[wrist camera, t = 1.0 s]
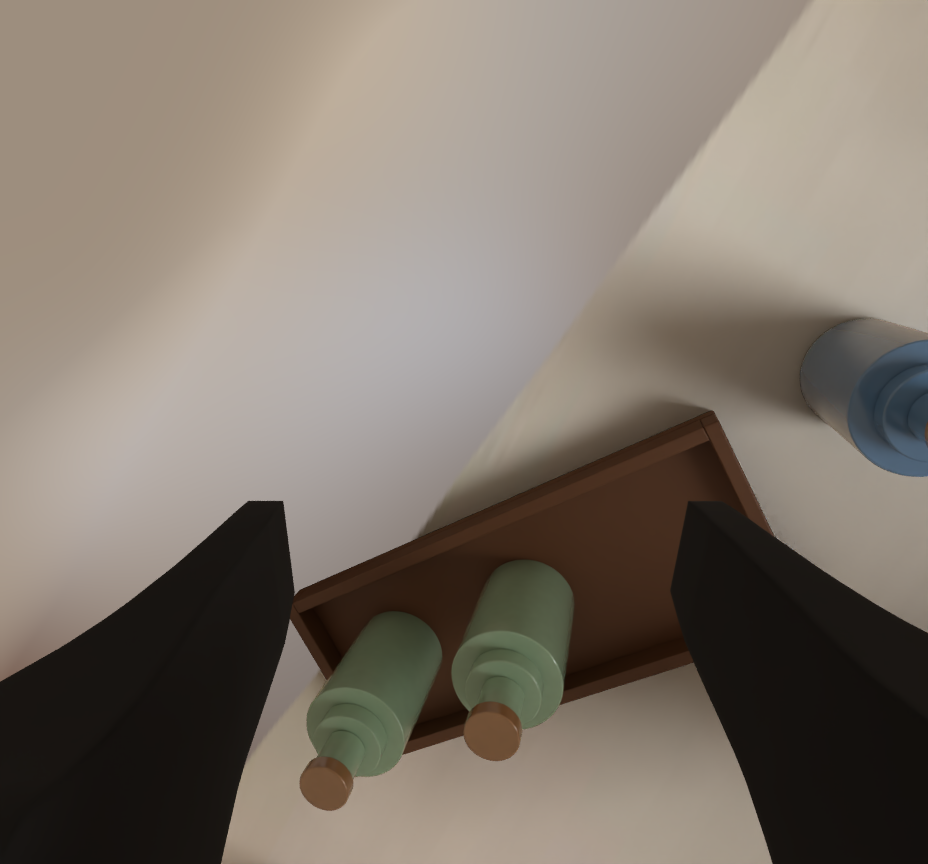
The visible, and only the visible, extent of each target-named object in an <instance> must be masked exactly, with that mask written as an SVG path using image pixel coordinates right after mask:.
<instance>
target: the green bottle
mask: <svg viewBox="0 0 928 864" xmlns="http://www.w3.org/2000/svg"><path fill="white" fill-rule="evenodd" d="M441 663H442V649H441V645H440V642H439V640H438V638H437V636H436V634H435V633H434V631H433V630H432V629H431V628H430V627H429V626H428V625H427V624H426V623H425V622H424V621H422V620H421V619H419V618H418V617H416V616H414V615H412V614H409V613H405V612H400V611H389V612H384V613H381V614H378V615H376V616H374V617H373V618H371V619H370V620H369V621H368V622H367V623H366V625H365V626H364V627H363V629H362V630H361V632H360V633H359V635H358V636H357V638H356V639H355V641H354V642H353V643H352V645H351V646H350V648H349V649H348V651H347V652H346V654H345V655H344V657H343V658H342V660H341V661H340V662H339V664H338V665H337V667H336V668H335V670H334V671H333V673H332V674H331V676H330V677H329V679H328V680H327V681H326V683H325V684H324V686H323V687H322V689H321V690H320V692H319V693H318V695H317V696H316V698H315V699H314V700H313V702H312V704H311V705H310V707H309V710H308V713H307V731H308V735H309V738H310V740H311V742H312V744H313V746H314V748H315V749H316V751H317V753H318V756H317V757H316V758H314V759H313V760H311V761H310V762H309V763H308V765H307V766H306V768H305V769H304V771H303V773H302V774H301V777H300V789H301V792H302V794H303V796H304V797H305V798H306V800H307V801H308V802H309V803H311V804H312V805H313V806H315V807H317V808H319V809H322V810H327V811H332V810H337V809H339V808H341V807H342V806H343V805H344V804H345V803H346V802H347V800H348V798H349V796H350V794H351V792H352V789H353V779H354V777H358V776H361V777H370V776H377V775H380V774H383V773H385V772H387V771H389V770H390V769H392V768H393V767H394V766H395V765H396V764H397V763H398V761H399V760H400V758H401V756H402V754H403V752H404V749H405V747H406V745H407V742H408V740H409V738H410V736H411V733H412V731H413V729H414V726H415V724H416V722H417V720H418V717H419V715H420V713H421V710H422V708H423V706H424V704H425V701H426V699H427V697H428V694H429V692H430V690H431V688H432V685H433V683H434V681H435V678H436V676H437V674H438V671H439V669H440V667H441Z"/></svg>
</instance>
